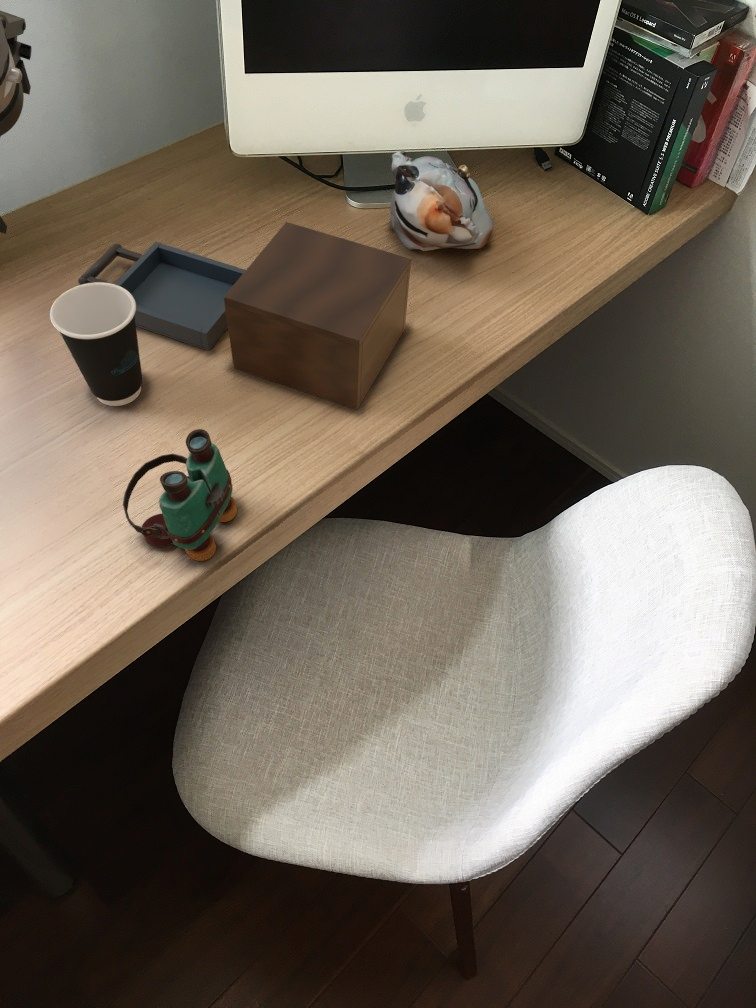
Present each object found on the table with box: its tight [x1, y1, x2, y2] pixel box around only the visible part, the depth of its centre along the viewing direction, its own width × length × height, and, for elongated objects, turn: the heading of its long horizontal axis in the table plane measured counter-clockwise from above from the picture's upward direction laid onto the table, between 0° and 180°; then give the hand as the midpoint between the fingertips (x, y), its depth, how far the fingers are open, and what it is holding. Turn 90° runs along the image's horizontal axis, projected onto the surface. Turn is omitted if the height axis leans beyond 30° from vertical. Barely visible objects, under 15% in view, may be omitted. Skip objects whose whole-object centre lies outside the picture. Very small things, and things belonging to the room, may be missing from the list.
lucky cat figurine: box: [389, 150, 495, 252], centre depth 96 cm, size 15×12×14 cm
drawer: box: [77, 241, 247, 351], centre depth 91 cm, size 18×12×2 cm, turn 68°
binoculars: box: [122, 428, 238, 562], centre depth 70 cm, size 9×11×10 cm
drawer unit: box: [224, 221, 412, 411], centre depth 85 cm, size 15×14×10 cm
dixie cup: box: [49, 282, 143, 407], centre depth 79 cm, size 8×8×11 cm
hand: (3, 156), depth 77 cm, fingers open, 13 cm apart
